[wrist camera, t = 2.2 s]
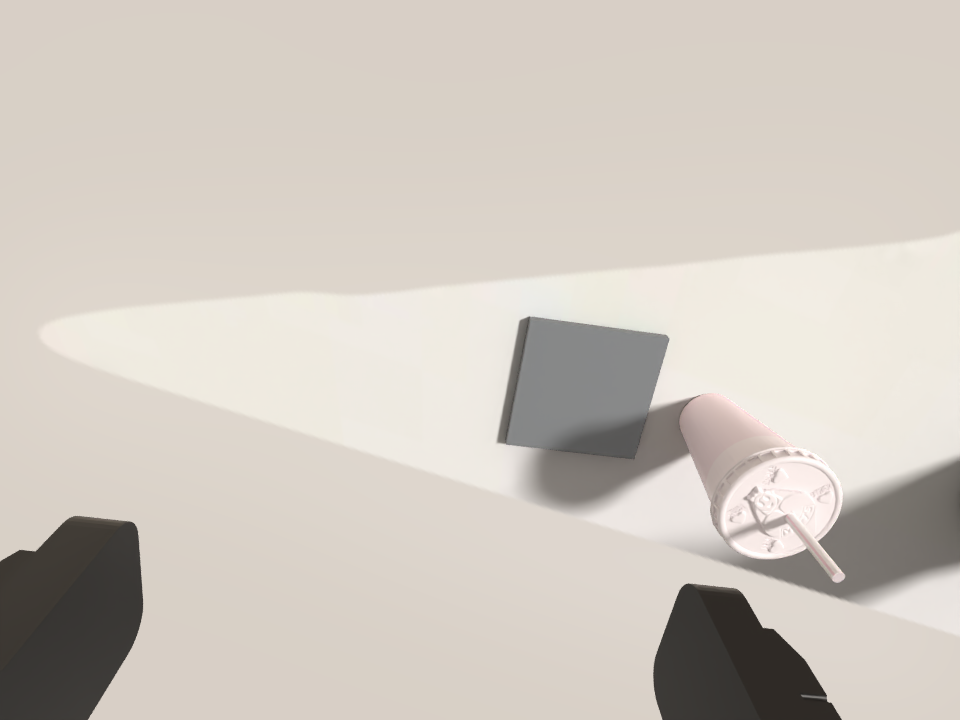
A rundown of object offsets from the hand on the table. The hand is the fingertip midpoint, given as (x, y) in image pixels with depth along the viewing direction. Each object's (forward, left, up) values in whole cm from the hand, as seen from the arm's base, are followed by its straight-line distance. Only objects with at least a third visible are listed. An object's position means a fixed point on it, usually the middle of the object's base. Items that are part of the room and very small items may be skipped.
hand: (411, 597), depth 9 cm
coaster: (-10, +8, -27) cm, 30 cm away
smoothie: (-18, +9, -27) cm, 34 cm away
